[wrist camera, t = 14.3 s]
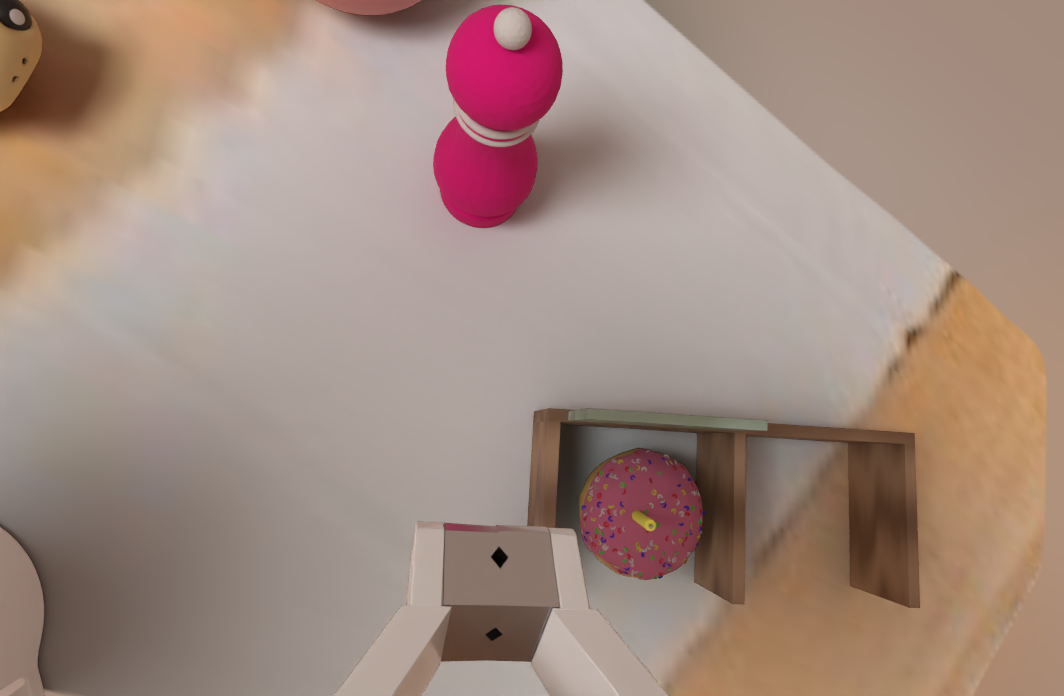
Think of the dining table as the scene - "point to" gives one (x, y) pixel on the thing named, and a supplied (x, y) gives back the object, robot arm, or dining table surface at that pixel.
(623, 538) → the cupcake
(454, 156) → the pepper mill
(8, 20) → the beige toy head
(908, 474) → the walnut rack
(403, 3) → the balloon
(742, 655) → the dining table surface
